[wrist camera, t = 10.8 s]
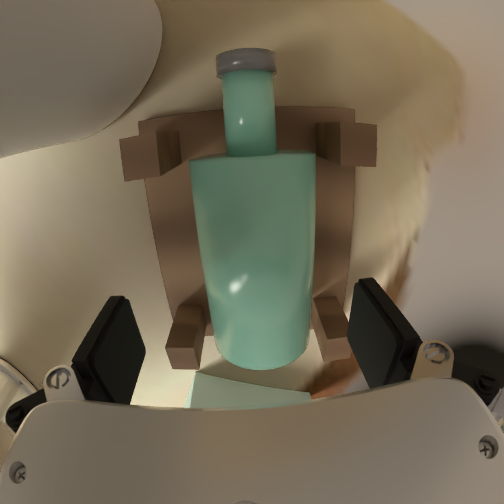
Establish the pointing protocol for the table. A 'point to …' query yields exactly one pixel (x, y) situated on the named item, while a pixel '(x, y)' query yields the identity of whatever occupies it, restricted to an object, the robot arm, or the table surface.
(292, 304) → the bottle
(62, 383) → the robot arm
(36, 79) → the cylinder vase
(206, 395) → the right angle wall
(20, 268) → the table surface
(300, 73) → the table surface
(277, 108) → the rest
